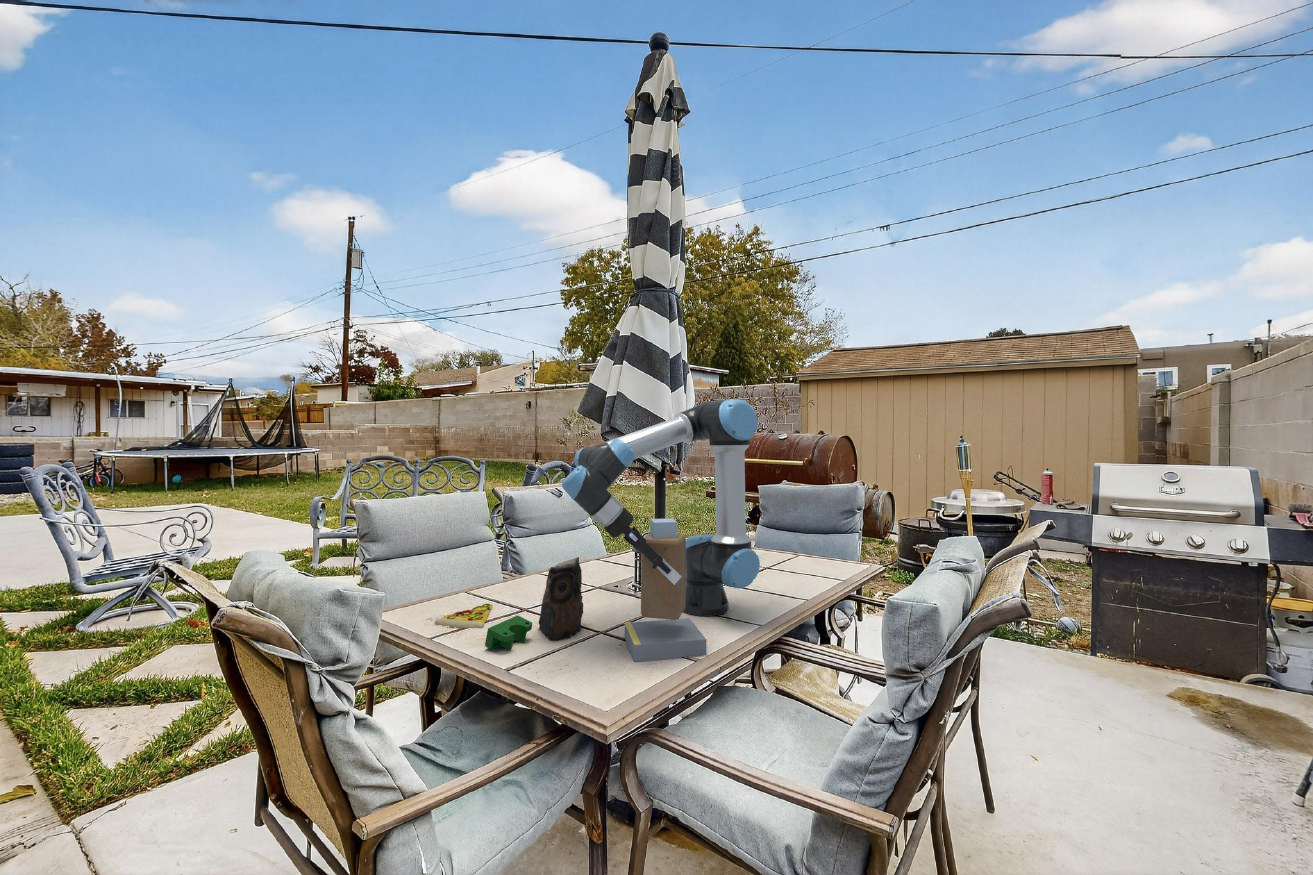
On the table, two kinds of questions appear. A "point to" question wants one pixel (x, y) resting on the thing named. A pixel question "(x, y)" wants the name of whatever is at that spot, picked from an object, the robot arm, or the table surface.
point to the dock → (664, 639)
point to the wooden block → (664, 579)
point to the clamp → (508, 633)
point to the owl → (562, 601)
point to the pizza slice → (467, 618)
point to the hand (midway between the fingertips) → (671, 574)
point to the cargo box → (663, 528)
